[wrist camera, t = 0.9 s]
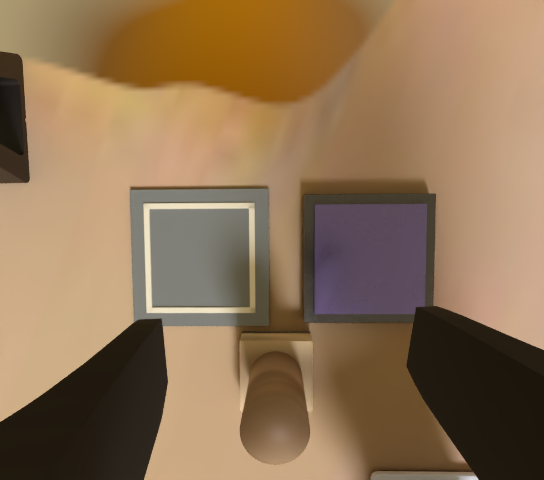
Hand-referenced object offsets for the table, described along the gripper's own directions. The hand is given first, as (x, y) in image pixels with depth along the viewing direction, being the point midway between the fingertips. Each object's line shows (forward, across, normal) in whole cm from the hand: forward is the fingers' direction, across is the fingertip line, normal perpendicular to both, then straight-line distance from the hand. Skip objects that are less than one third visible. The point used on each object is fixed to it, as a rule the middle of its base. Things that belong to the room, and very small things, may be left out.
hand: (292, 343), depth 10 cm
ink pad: (+14, -8, +3) cm, 16 cm away
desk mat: (+16, +4, +3) cm, 17 cm away
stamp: (+13, -1, +11) cm, 17 cm away
